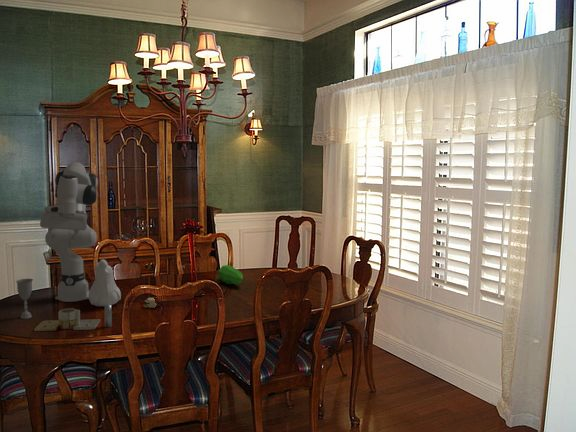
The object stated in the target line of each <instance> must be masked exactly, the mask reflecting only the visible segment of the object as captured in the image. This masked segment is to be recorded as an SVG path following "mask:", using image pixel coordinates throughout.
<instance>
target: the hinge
mask: <svg viewBox="0 0 576 432" xmlns="http://www.w3.org/2000/svg"><path fill="white" fill-rule="evenodd" d="M57 314H58V320H57V319H53V320H52V319H50V320H43V321H41V322H40V323H39V324H38V325H36V327H35V328H34V329H33V330H34V332H51V331H52V332H53V331H54V332H55V331H57V330H59V329H61V330H69V329H72V331H87V330H89V331H91V330H92V331H94V330H95V329H96V328H97V327H98V325H99V324H100V323H101V319H100V318H98V319H96V318H95V319H94V318H93V319H81V310H80V309H76V308H73V307H71V308H70V307H69V308H64V309H60V310H59V311H58V312H57Z"/></svg>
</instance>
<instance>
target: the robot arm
mask: <svg viewBox="0 0 576 432" xmlns="http://www.w3.org/2000/svg"><path fill="white" fill-rule="evenodd" d="M86 170H87V169H86V168H85V166H84V165H83V164H82V163H81V162H78V161H73V162H71V163H69V164H68V165H67V166H66V167H65V168H64V169H62V170H61V171H60V170H59V171H58V172H57V173H56V175H55V178H54V183H55V191H54V197H55V198H56V200H55V204H54V205H48V206H44V208H43V211H44V212H43V213H42V214H41V217H40V221H39V226H40V228H42V229H47V232H46V234H45V237H44V240H45V244H46V245H47V246H48V247H49V248H51V249H52V250H53V251H54V252H55V253H56V254H57V255H58V257H59V258H58V259H59V261H60V268H61V270H60V271H61V274H60V282H59V283H58V284H57V296H55V297H54V298H55V300H58V301H60V302H64V303H65V302H66V303H67V302H68V303H71V302H72V303H73V302H79V301H84V300H89V290H90V288H89V282H88V281H87V280H86V271H85V270H84V259H83V257H82V256H81V255H80V254H78V253H74V251H72V249H86V248H91V247H94V245H96V243H97V241H98V235H97V233H96V231H95V230H94V229H93V228H91V227H90V226H89V225H88V222H87V220H88V213H87V212H86V211H87V209H86V207H87V206H92V205H93V204H95V203H96V202H97V199H98V190H97V187H98V185H99V180H98V178H97V175H96V174H95V173H92V172H87V171H86Z"/></svg>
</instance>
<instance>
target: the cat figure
mask: <svg viewBox="0 0 576 432" xmlns="http://www.w3.org/2000/svg"><path fill="white" fill-rule="evenodd" d="M154 298H155V297H148V298H146V300H144V301H143V303H144V304H143V305H142V306H144V308H152V309H153V308H154V309H155V307H157V304H156V303H155V299H154Z"/></svg>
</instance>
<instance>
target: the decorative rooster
mask: <svg viewBox="0 0 576 432" xmlns="http://www.w3.org/2000/svg"><path fill="white" fill-rule="evenodd" d="M94 277H95V279H94V281H93V283H92V285H91V287H89V299H88V300H89V302H90V304H91V305H92V306H95V307H104V305H106V304H111V306H112V305H115V304H117V302H119V301H121V299H122V298H121V296H122V292H121V290H120V288H119V287H118V286H117V284H116V281H115V278H114V271H113V268H112V267H111V266H110V265H109V264H108V262H107V260H106V259H100V260H99V261H98V262H95V265H94Z"/></svg>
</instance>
